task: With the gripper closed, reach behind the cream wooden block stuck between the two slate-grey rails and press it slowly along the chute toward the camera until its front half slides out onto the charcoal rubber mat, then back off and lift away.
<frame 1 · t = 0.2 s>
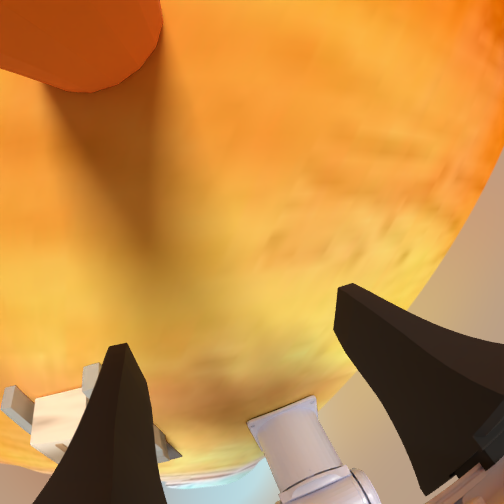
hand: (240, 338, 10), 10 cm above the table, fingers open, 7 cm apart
spray bottle: (118, 49, 13), on the table
block: (77, 434, 21), point 3 cm above the table, slide at 0.0 cm
chute: (87, 417, 24), on the table
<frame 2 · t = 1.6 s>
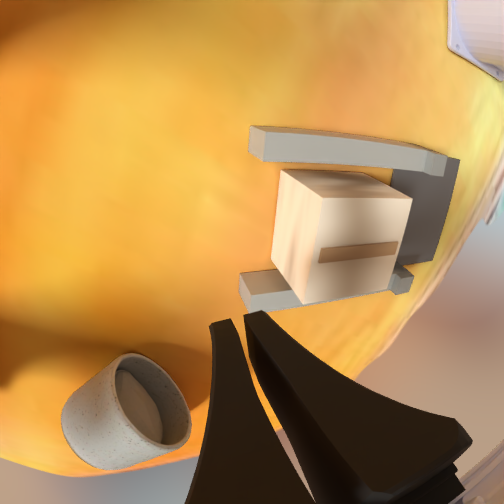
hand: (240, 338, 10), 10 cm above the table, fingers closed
mat: (418, 211, 24), on the table
ceramic mug: (133, 385, 24), on the table
block: (338, 231, 19), point 3 cm above the table, slide at 0.0 cm
chute: (335, 213, 21), on the table
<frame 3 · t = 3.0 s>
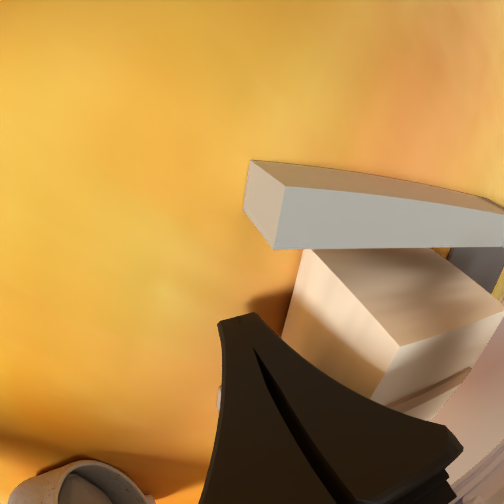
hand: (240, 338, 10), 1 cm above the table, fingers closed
mat: (469, 285, 16), on the table
ceramic mug: (89, 477, 15), on the table
block: (386, 348, 11), point 3 cm above the table, slide at 0.2 cm, touching gripper
chute: (372, 301, 13), on the table
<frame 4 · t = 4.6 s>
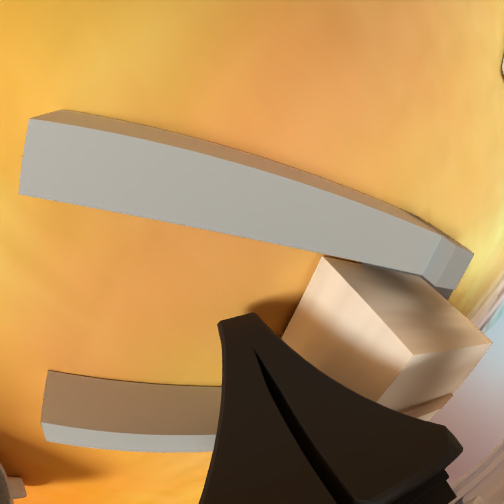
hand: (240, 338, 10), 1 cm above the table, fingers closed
block: (377, 367, 11), point 3 cm above the table, slide at 6.9 cm, touching gripper
chute: (228, 315, 11), on the table
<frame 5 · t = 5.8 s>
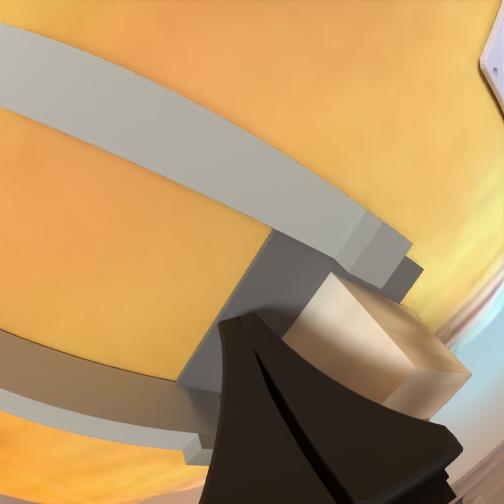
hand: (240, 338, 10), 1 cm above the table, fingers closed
mat: (303, 334, 13), on the table
block: (363, 385, 12), point 3 cm above the table, slide at 11.9 cm, touching gripper
chute: (94, 269, 9), on the table
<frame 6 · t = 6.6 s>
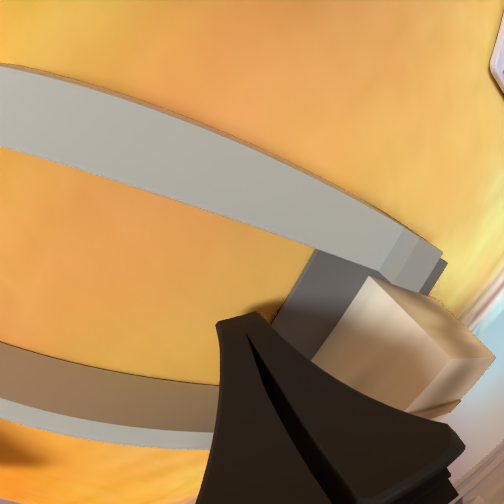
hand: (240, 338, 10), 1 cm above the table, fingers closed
mat: (344, 332, 14), on the table
block: (401, 374, 12), point 3 cm above the table, slide at 12.0 cm
chute: (157, 297, 10), on the table
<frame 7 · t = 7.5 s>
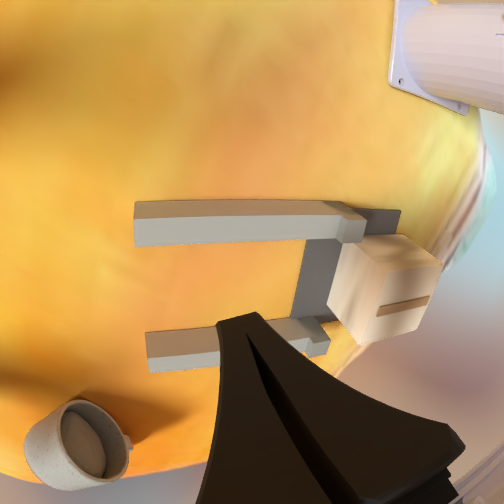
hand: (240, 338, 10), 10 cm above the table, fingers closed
mat: (345, 269, 24), on the table
ceramic mug: (85, 420, 24), on the table
block: (384, 286, 22), point 3 cm above the table, slide at 12.0 cm
chute: (238, 278, 21), on the table
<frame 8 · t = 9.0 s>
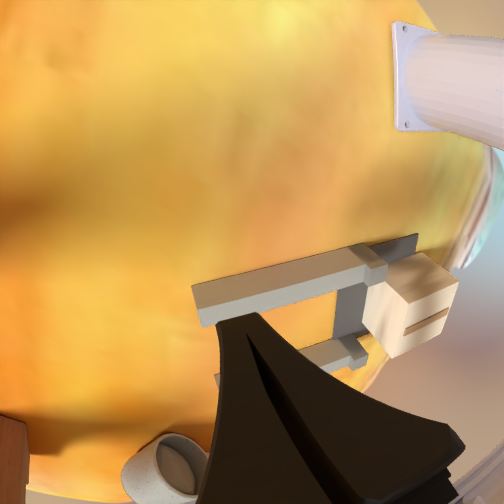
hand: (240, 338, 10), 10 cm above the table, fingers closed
mat: (374, 292, 27), on the table
ceramic mug: (169, 447, 30), on the table
wooden block: (10, 433, 23), on the table
block: (409, 303, 25), point 3 cm above the table, slide at 12.0 cm
chute: (286, 321, 25), on the table
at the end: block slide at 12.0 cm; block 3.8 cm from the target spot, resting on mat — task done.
